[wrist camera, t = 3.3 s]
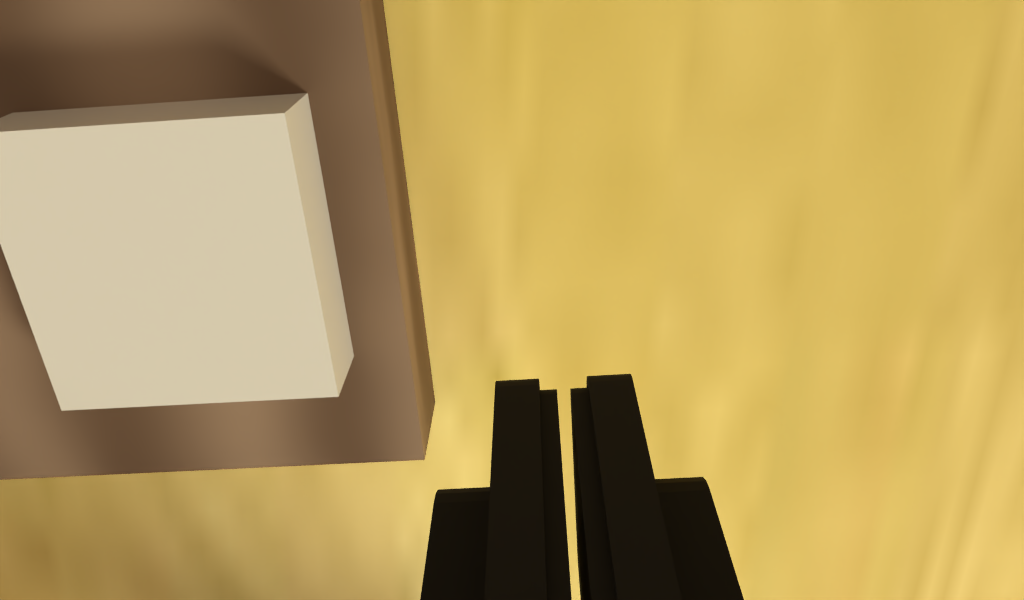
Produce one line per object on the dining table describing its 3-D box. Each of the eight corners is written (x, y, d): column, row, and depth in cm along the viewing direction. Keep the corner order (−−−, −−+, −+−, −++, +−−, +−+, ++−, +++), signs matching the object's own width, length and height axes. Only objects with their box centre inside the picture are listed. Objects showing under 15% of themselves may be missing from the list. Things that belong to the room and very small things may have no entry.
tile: (307, 92, 19) (284, 113, 17) (354, 355, 22) (338, 397, 20) (13, 112, 19) (-41, 134, 17) (99, 369, 22) (61, 410, 20)
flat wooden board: (371, -82, 20) (348, -80, 17) (435, 401, 26) (424, 459, 23) (-255, -35, 21) (-372, -24, 18) (-51, 426, 27) (-116, 484, 24)
